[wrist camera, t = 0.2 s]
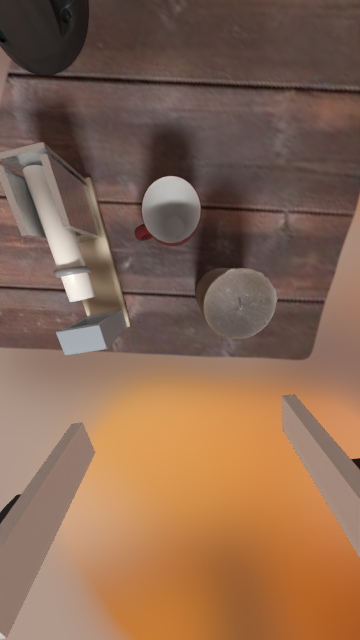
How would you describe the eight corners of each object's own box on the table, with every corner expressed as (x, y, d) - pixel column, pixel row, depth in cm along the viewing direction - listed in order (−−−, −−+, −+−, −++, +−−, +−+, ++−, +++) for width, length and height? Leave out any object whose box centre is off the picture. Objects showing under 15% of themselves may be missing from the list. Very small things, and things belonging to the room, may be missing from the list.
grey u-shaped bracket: (48, 188, 31) (-10, 155, 22) (86, 179, 30) (43, 141, 21) (66, 244, 34) (22, 235, 24) (102, 237, 33) (70, 225, 24)
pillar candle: (206, 322, 38) (222, 355, 24) (187, 280, 36) (191, 290, 21) (249, 302, 37) (293, 324, 23) (232, 258, 34) (268, 251, 20)
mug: (155, 264, 35) (145, 263, 25) (133, 224, 33) (113, 207, 23) (203, 236, 33) (211, 224, 24) (183, 193, 31) (183, 160, 22)
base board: (47, 189, 32) (43, 187, 31) (91, 179, 31) (89, 176, 30) (94, 331, 39) (93, 332, 39) (131, 325, 39) (130, 326, 38)
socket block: (90, 314, 37) (56, 332, 27) (122, 309, 37) (98, 325, 27) (96, 332, 39) (65, 355, 29) (127, 327, 38) (106, 348, 28)
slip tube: (38, 185, 27) (5, 167, 23) (69, 178, 27) (43, 158, 22) (77, 298, 33) (58, 304, 28) (104, 294, 32) (89, 298, 27)
